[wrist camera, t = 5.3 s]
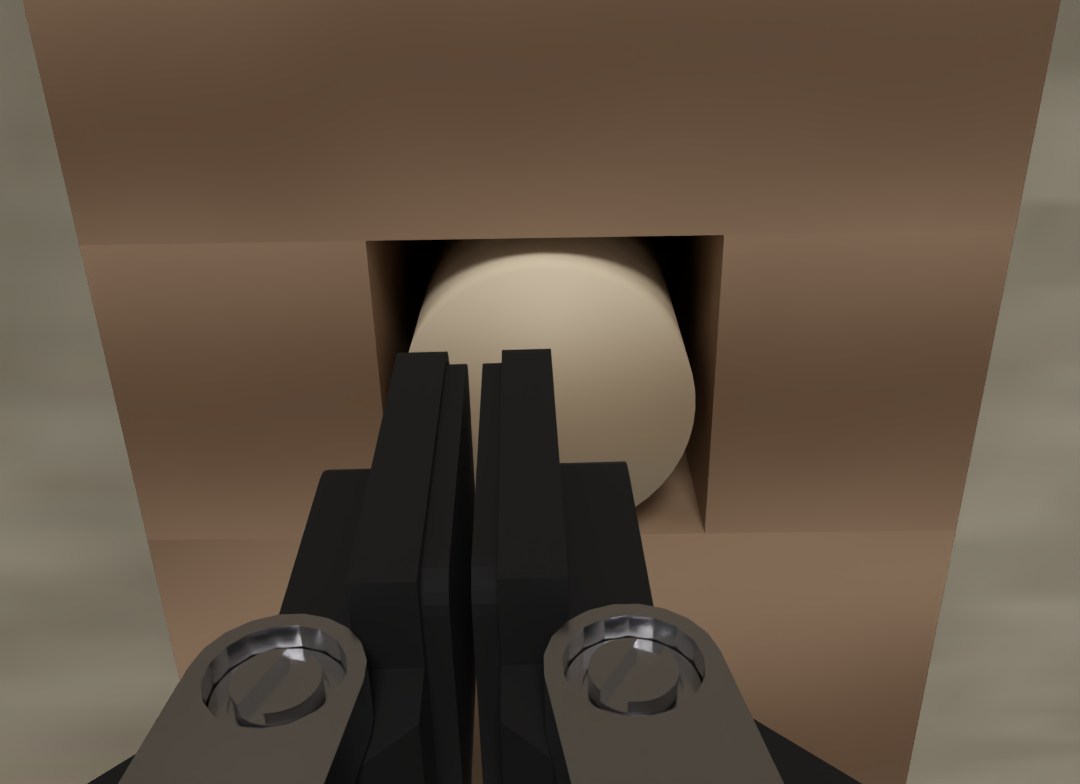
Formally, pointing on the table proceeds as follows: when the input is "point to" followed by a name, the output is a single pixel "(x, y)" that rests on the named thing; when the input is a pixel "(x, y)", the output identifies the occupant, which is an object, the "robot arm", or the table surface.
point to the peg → (572, 341)
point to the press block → (560, 212)
